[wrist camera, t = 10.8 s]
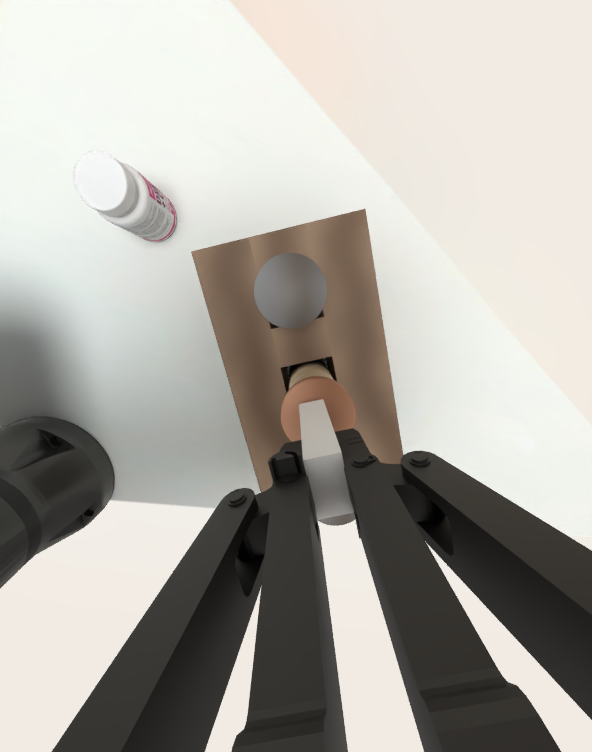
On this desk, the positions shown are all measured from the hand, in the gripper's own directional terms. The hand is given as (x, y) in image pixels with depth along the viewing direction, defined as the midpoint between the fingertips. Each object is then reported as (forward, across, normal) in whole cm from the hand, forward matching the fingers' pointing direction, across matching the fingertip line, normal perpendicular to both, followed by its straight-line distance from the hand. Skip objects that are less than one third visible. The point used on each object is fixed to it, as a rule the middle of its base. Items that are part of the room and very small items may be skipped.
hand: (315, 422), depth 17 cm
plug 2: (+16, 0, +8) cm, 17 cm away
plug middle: (+13, 0, 0) cm, 13 cm away
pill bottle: (+16, -12, +19) cm, 28 cm away
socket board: (+16, 0, 0) cm, 16 cm away
